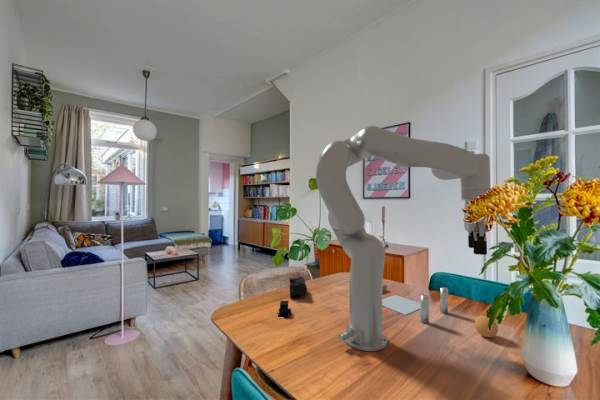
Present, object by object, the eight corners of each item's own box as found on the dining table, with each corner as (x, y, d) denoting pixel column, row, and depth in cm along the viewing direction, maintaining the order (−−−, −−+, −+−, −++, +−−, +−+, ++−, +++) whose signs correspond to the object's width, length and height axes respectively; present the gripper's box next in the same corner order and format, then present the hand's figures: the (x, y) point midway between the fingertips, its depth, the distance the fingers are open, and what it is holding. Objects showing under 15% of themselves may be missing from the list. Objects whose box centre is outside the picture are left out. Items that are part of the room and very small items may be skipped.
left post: (426, 324, 91) (426, 297, 91) (419, 321, 93) (419, 295, 93) (430, 322, 93) (430, 296, 92) (423, 319, 95) (423, 294, 94)
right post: (445, 314, 99) (446, 290, 98) (438, 312, 101) (438, 288, 101) (449, 312, 100) (449, 288, 100) (442, 310, 102) (442, 286, 102)
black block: (293, 322, 94) (293, 309, 94) (272, 322, 94) (272, 309, 93) (294, 307, 106) (294, 296, 106) (275, 307, 106) (275, 296, 106)
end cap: (307, 299, 114) (307, 283, 113) (290, 299, 113) (290, 283, 113) (305, 290, 123) (305, 276, 123) (289, 291, 123) (289, 276, 123)
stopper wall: (359, 299, 113) (359, 293, 113) (356, 297, 115) (356, 291, 115) (386, 290, 124) (386, 285, 124) (383, 289, 125) (383, 283, 125)
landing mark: (405, 315, 98) (405, 314, 98) (374, 302, 110) (374, 302, 110) (426, 306, 106) (426, 305, 106) (395, 295, 118) (395, 294, 118)
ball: (493, 343, 79) (493, 323, 79) (470, 334, 84) (471, 315, 84) (501, 337, 83) (501, 317, 83) (479, 329, 88) (479, 310, 88)
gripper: (458, 195, 92) (459, 245, 93) (465, 196, 77) (467, 256, 77) (484, 194, 89) (485, 246, 90) (497, 195, 74) (499, 258, 74)
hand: (477, 250), depth 83 cm, fingers open, 9 cm apart
